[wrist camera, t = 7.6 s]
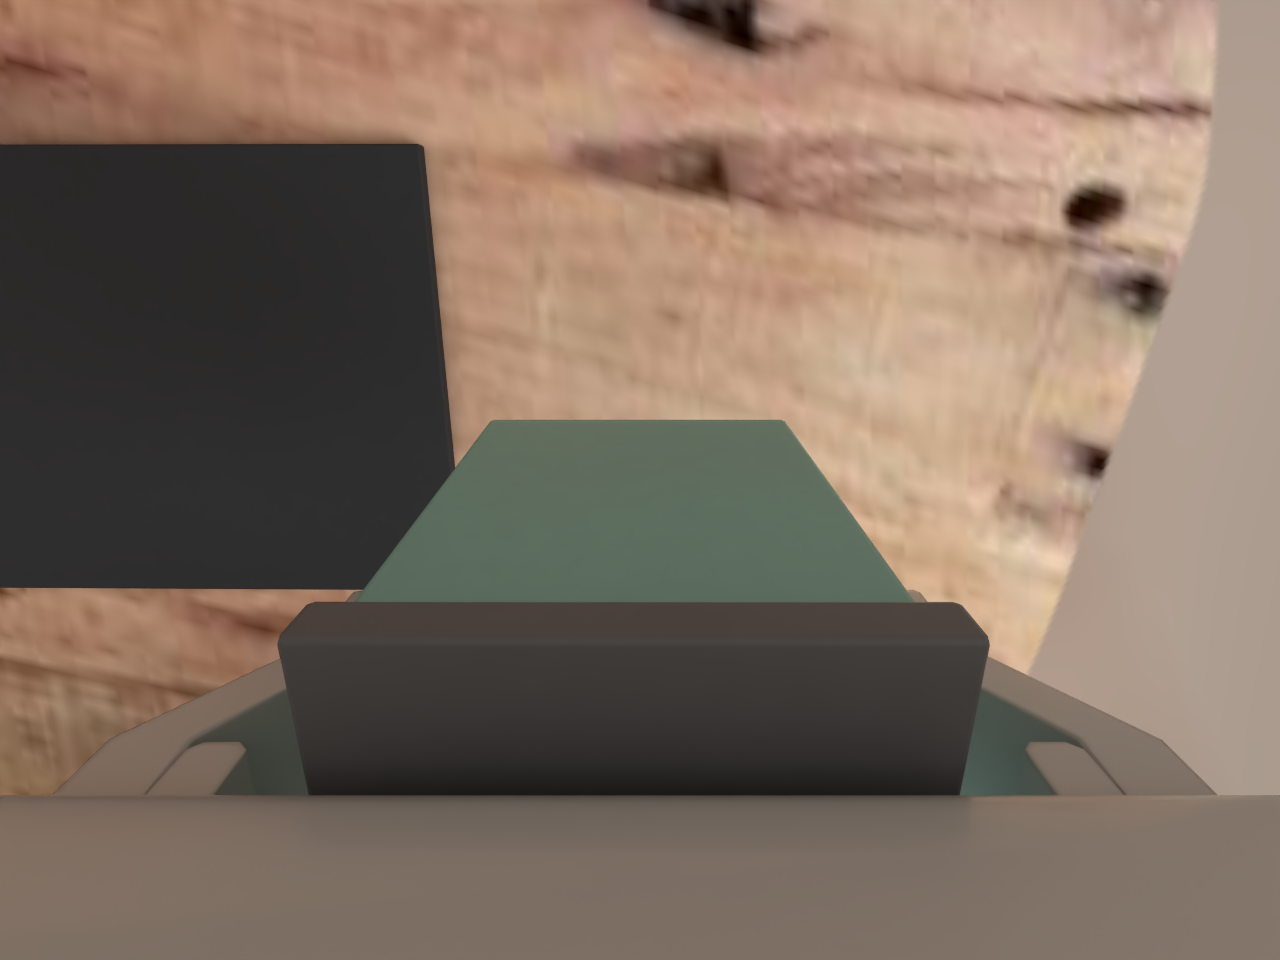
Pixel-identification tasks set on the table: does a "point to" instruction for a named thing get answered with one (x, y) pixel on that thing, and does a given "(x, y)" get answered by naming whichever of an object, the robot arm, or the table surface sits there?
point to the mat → (216, 364)
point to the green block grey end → (634, 631)
